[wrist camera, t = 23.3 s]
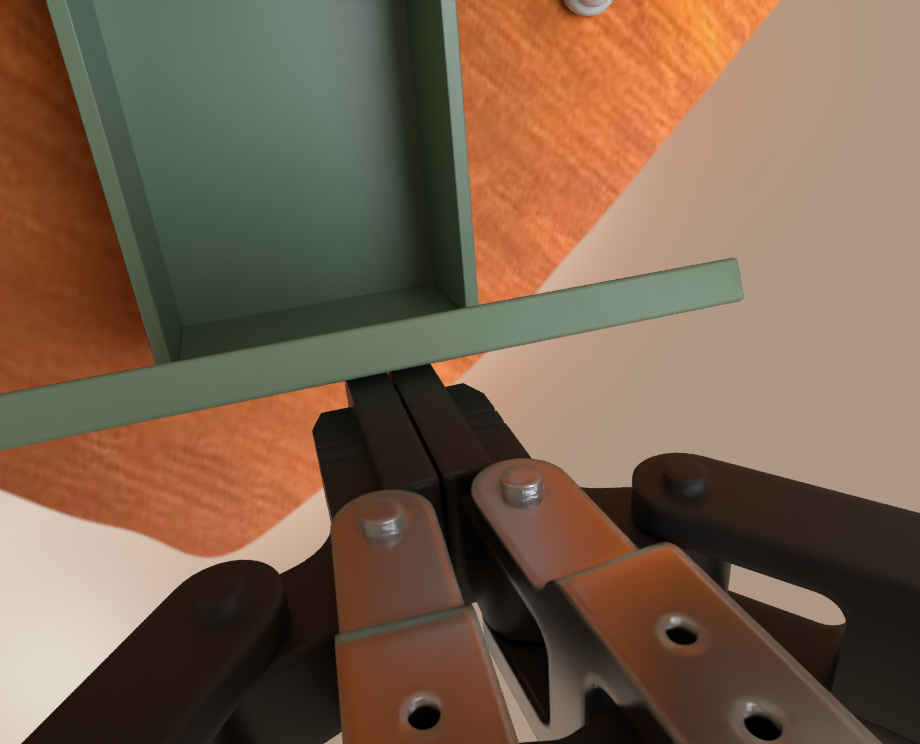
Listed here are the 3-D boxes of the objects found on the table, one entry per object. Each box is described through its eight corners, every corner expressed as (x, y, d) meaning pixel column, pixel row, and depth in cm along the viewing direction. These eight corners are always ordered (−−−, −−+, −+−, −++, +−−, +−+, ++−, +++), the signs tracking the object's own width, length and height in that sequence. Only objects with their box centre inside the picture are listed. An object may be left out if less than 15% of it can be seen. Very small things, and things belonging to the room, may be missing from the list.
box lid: (-78, 408, 10) (-65, 463, 10) (738, 256, 13) (746, 299, 13) (160, 385, 27) (164, 406, 27) (482, 323, 30) (486, 342, 30)
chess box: (48, -101, 25) (3, -139, 20) (405, -117, 28) (445, -153, 23) (173, 336, 33) (163, 391, 28) (444, 288, 36) (481, 329, 31)
